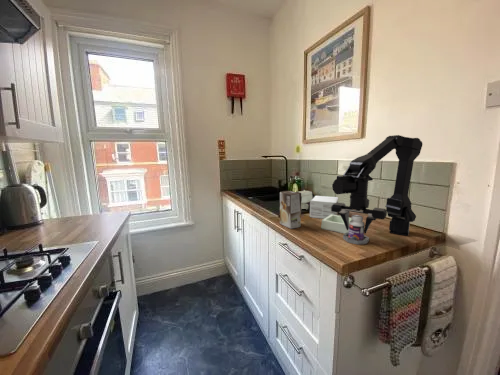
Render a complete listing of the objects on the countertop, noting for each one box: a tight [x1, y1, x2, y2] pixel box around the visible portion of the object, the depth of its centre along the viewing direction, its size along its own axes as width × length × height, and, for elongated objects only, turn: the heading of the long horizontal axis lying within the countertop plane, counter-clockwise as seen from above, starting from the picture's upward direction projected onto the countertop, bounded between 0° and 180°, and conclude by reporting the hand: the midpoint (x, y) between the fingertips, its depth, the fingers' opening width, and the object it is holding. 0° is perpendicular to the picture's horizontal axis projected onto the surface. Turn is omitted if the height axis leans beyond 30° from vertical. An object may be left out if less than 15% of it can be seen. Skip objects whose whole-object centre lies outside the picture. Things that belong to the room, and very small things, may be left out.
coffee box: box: [279, 190, 302, 230], centre depth 104 cm, size 9×6×16 cm
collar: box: [342, 233, 370, 245], centre depth 87 cm, size 9×9×2 cm
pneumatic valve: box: [296, 189, 315, 210], centre depth 134 cm, size 6×12×12 cm, turn 111°
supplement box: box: [309, 195, 339, 220], centre depth 122 cm, size 17×13×9 cm
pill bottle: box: [348, 214, 365, 240], centre depth 86 cm, size 5×5×10 cm
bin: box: [321, 214, 352, 235], centre depth 101 cm, size 12×12×4 cm
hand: (356, 231), depth 86 cm, fingers open, 6 cm apart
